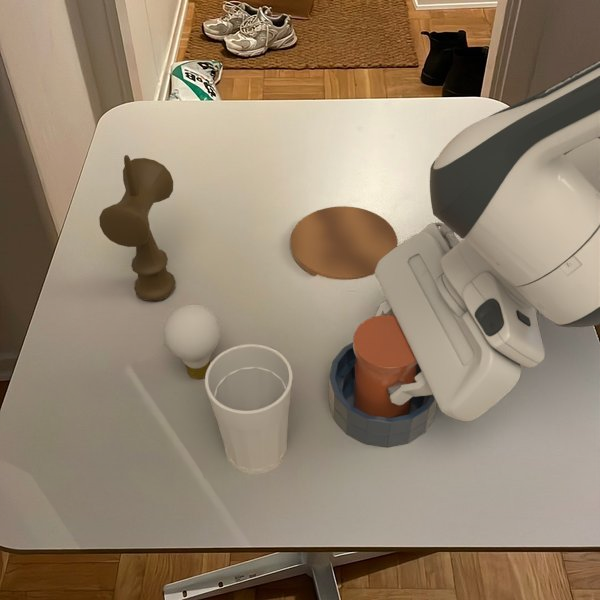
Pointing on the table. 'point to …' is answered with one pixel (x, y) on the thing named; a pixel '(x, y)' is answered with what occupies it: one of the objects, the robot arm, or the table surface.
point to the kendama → (141, 225)
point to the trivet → (342, 242)
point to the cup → (251, 405)
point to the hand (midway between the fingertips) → (379, 369)
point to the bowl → (370, 426)
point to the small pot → (381, 366)
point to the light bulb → (193, 337)
